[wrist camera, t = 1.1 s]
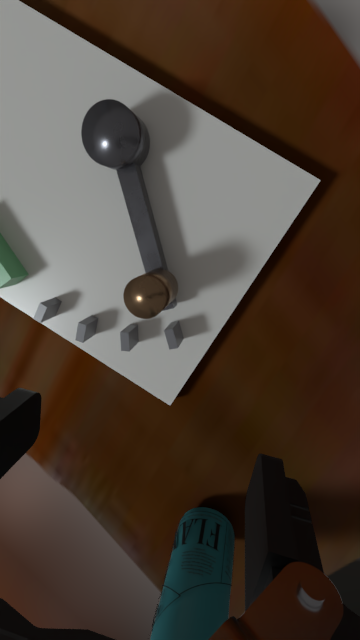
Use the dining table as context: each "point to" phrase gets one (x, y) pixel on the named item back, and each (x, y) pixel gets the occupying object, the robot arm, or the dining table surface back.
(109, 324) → the dial board
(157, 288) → the lever
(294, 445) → the dining table surface
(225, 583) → the beverage bottle
